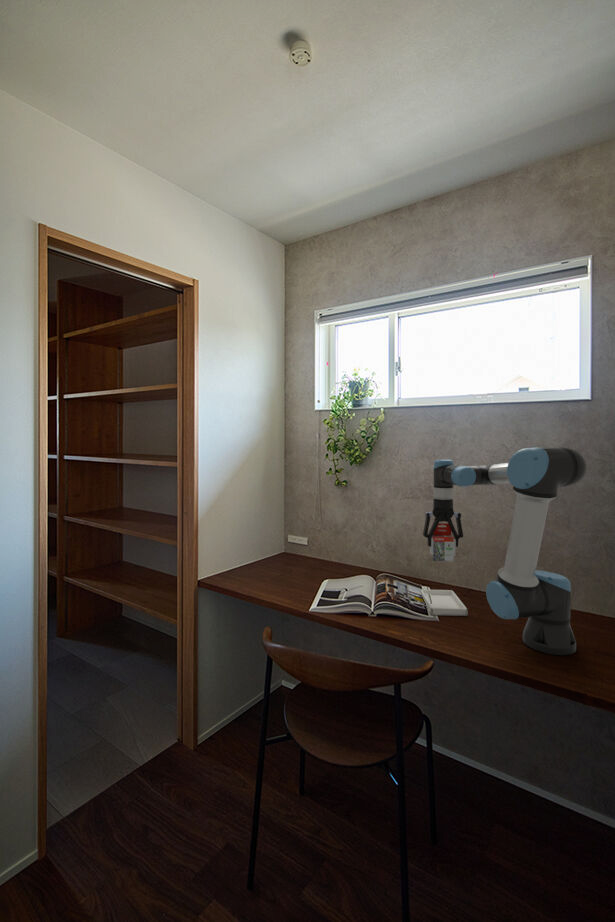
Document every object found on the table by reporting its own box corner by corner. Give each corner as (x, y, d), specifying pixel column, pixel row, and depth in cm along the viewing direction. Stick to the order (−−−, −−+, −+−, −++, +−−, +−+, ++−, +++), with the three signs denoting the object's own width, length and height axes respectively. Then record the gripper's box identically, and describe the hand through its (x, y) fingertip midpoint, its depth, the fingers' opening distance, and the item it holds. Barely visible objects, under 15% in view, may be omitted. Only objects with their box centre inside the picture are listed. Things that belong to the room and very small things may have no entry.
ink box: (453, 561, 172) (454, 525, 171) (433, 561, 173) (433, 524, 172) (451, 559, 176) (452, 523, 175) (431, 558, 176) (432, 523, 176)
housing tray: (467, 615, 164) (467, 609, 163) (430, 615, 165) (430, 608, 164) (452, 596, 185) (452, 590, 185) (420, 595, 186) (420, 589, 186)
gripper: (467, 497, 176) (466, 552, 177) (415, 496, 178) (414, 551, 179) (472, 499, 169) (472, 557, 170) (418, 499, 170) (418, 556, 171)
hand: (442, 554), depth 174 cm, fingers closed on ink box, 8 cm apart
